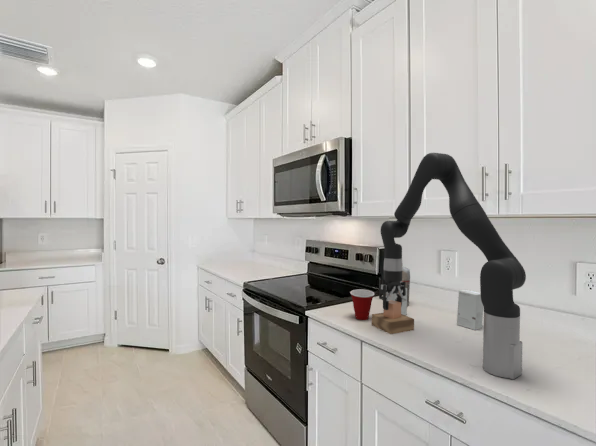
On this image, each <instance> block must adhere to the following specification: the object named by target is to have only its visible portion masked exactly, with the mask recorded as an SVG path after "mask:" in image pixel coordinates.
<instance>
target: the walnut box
mask: <svg viewBox="0 0 596 446" xmlns="http://www.w3.org/2000/svg"><path fill="white" fill-rule="evenodd" d="M371 326H373V327H375V328H377V329H379V330H380V331H383V332H384V333H387V334H389V335H393V334H400V333H405V332H411V331H415V319H414V318H413V317H410V316H408V315H403V314H401V317H399V318H395V319H392V318H388V317H385V316H384V312H379V313H378V312H377V313H372V314H371Z"/></svg>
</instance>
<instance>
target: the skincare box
mask: <svg viewBox="0 0 596 446" xmlns="http://www.w3.org/2000/svg"><path fill="white" fill-rule="evenodd" d="M457 298H458V300H457V314H456V325H457V326H460V327H464V328H466V329H469V330H470V329H471V330H472V331H473V330H474V331H476V330H480V328H481V329H482V328H483V322H484V306H483V304H482V301H481V292H479V291H474V290H471V289H461V290H460V289H459V290H458V297H457Z"/></svg>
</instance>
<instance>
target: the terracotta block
mask: <svg viewBox="0 0 596 446" xmlns="http://www.w3.org/2000/svg"><path fill="white" fill-rule="evenodd" d="M383 313H384V316H385V317H388V318H392V319H395V318H399V317H401V302H398V301H393V300H389V309H388V310H384V309H383Z"/></svg>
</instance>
